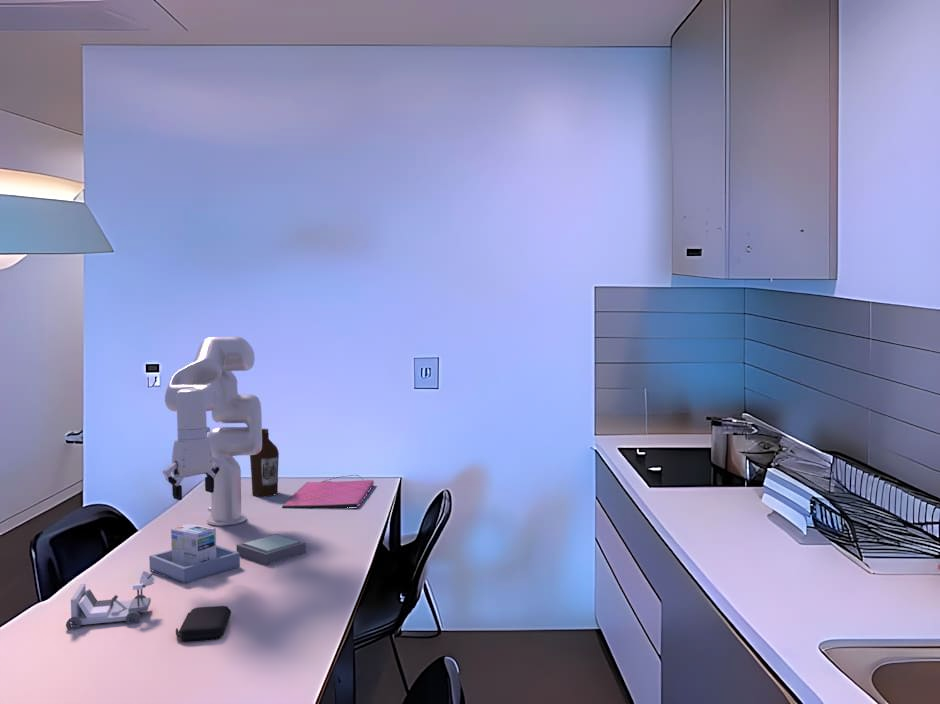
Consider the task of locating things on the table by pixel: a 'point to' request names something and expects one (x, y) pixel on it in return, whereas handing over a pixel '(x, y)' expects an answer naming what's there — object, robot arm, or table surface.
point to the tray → (184, 575)
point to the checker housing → (271, 556)
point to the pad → (271, 543)
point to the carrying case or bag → (204, 624)
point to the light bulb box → (193, 544)
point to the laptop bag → (330, 494)
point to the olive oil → (265, 468)
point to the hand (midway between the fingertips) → (193, 495)
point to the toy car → (108, 606)
